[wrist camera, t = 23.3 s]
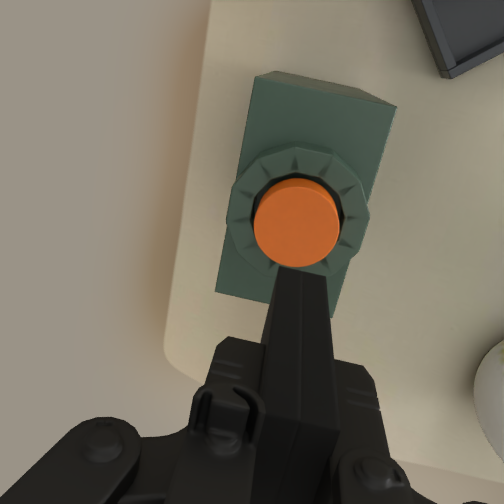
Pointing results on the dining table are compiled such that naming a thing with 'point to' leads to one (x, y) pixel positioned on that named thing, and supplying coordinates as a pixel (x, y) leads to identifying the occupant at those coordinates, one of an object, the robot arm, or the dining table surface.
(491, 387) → the decorative egg
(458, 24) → the tray
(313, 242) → the button
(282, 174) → the post
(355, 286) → the dining table surface
